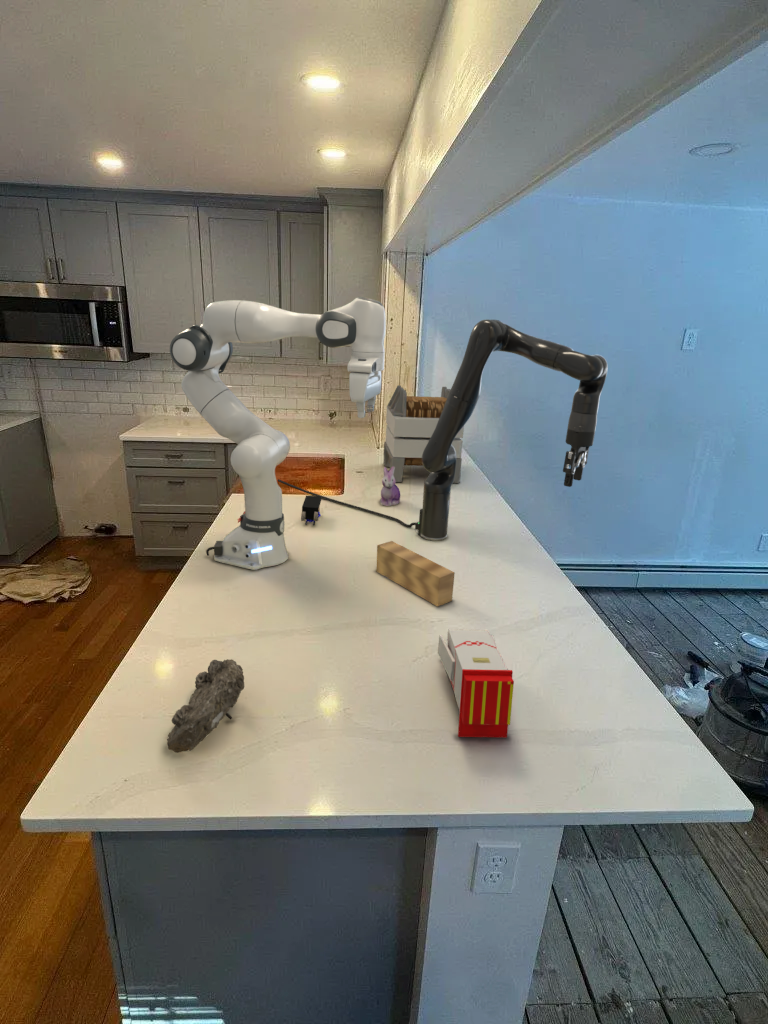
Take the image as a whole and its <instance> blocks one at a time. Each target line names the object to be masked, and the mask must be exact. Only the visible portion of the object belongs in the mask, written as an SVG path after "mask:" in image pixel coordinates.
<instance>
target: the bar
mask: <svg viewBox="0 0 768 1024" xmlns="http://www.w3.org/2000/svg"><path fill="white" fill-rule="evenodd" d="M376 547H377V548H376V567H375V572H376V573H378V574H380V575H382V576H383V577H385V578H387V579H389V580H390V581H392V582H394V583H396V584H398V585H399V586H401V587H403V588H405V590H408V591H409V592H411V593H413V594H415V595H417V596H418V597H420V598H421V599H423V600H425V601H427V602H428V603H430V604H432V605H434V606H436V607H440V606H443V605H445V604H448V603H451V602H452V601H453V594H454V583H455V574H456V573H455V571H453V570H452V569H449V568H447V567H445V566H442V565H441V564H439V563H437V562H435V561H433V560H431V559H429V558H427V557H425V556H423V555H421V554H419V553H417V552H415V551H413V550H412V549H411V550H410V549H409V548H407V547H405V546H403V545H401V544H398V543H397V542H395V541H393V540H390V541H386V542H383V543H380V544H376Z"/></svg>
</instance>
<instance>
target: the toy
mask: <svg viewBox="0 0 768 1024" xmlns="http://www.w3.org/2000/svg"><path fill="white" fill-rule="evenodd" d="M446 640H447V643H446V641H445V639H444V636H443V635H442V634H439V637H438V646H437V656H438V657H439V659H440V661H441V663H442V666H443V668H444V670H445V672H446V674H447V677H448V679H449V681H450V684H451V687H452V690H453V693H454V697H455V701H456V705H457V708H458V711H459V714H458V715H459V716H458V730H457V731H458V732H457V737H458V738H508V731H509V726H510V725H511V717H512V707H513V697H514V696H513V695H514V684H515V680H514V679H513V673H514V671H513V670H512V669H508V667H507V665H506V662H505V661H504V659H503V658H502V655H501V653H500V651H499V649H498V647H497V643H496V639H495V637H494V635H493V634H491V632H490V631H489V629H467V628H466V629H465V628H463V629H461V628H460V629H459V628H448V630H447V639H446Z"/></svg>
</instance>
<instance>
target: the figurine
mask: <svg viewBox="0 0 768 1024" xmlns="http://www.w3.org/2000/svg"><path fill="white" fill-rule="evenodd" d="M394 469H395V468H394V466H393V467H392V468H391V469H390V468H389V470H388V468H387V466H384V467H383V477H382V479H381V484H382V488H381V490H380V500H379V502H380V505H381V506H386V507H391V506H396V505H398V504H399V503H400V501H401V490H400V488H399V486H398V485H397V484H396V483H397V482H396V481H395V478H394V476H393V474H394Z"/></svg>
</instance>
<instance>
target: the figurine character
mask: <svg viewBox="0 0 768 1024" xmlns="http://www.w3.org/2000/svg"><path fill="white" fill-rule="evenodd" d="M322 500H323V498H322V497H319V496H314V495H305V498H304V500H303V502H302V507H301V515H300V521H301V522H304V525H305V526H308V523H312V526H315V525H316V522H318V521H319V518H320V517H322V516H321V513H320V509H321V508H320V506H321V503H322Z"/></svg>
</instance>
